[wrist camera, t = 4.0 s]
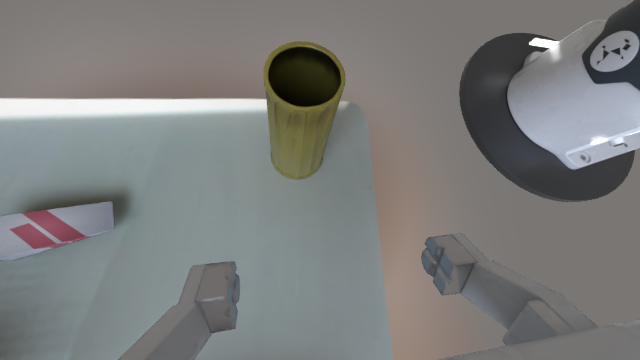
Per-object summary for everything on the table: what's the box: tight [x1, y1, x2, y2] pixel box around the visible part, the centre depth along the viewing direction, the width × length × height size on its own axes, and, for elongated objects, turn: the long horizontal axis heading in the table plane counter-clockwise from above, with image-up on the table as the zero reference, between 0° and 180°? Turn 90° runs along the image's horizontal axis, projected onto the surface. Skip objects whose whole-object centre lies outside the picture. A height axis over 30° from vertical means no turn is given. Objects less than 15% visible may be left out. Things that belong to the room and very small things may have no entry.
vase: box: [264, 41, 345, 179], centre depth 22 cm, size 6×6×14 cm
